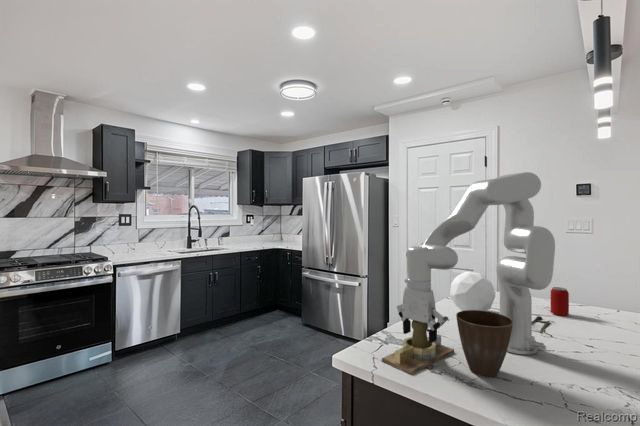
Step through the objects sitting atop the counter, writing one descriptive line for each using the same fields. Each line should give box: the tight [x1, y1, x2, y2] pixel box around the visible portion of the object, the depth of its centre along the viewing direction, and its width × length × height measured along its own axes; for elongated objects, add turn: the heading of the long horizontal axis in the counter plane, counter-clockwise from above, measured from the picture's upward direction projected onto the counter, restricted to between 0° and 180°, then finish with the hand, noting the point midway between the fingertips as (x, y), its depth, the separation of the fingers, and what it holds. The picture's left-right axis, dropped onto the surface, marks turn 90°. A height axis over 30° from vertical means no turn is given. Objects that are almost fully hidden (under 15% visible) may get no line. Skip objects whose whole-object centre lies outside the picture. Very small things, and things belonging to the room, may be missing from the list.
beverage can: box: [550, 286, 570, 317], centre depth 151 cm, size 7×7×12 cm
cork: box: [411, 320, 429, 348], centre depth 107 cm, size 6×6×11 cm
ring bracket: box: [394, 333, 442, 365], centre depth 107 cm, size 23×10×4 cm, turn 129°
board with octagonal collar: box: [381, 344, 455, 375], centre depth 107 cm, size 24×11×1 cm, turn 129°
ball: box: [449, 271, 496, 311], centre depth 154 cm, size 19×20×20 cm
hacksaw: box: [532, 315, 555, 338], centre depth 134 cm, size 24×10×2 cm, turn 133°
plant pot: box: [455, 310, 513, 378], centre depth 97 cm, size 15×15×16 cm
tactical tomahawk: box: [426, 316, 449, 332], centre depth 136 cm, size 21×7×1 cm, turn 141°
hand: (419, 337), depth 107 cm, fingers open, 9 cm apart
